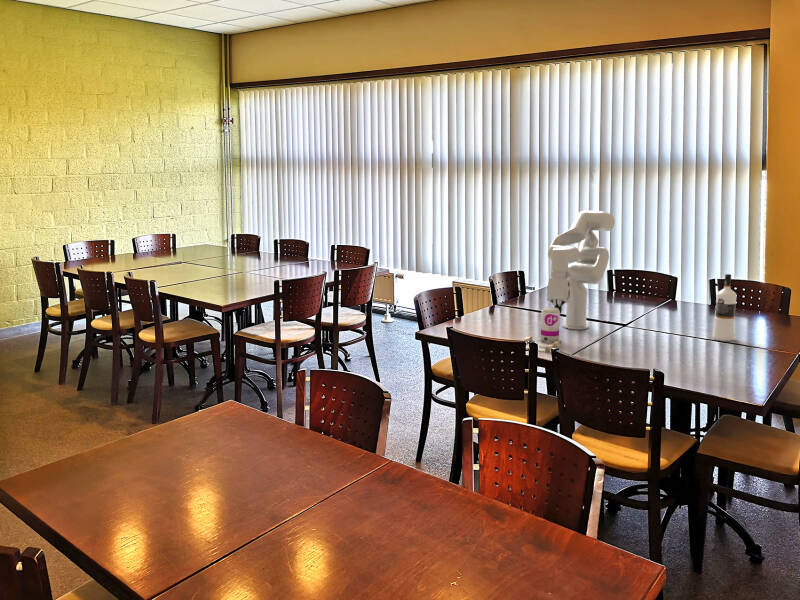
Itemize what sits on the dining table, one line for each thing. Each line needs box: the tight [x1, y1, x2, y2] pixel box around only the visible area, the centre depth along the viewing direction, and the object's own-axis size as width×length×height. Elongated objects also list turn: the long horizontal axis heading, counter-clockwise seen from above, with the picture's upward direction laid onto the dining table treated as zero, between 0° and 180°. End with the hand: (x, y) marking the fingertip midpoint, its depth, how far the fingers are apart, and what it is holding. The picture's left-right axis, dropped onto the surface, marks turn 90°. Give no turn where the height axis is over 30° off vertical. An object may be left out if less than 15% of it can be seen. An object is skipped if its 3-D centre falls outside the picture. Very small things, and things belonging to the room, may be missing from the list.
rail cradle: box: [521, 335, 562, 354], centre depth 322 cm, size 14×16×2 cm
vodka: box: [711, 273, 738, 342], centre depth 330 cm, size 9×9×30 cm
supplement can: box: [540, 306, 561, 343], centre depth 331 cm, size 8×8×15 cm
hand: (557, 314), depth 338 cm, fingers closed
